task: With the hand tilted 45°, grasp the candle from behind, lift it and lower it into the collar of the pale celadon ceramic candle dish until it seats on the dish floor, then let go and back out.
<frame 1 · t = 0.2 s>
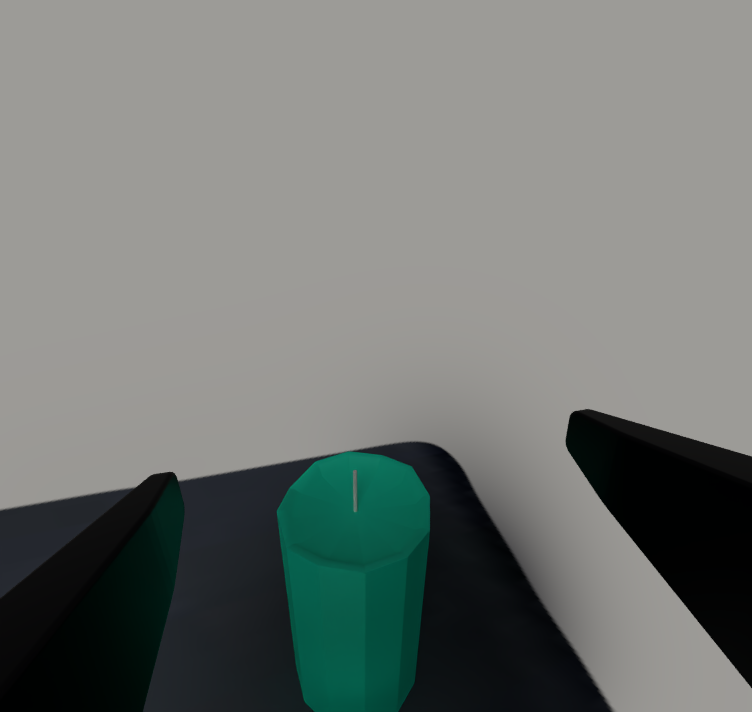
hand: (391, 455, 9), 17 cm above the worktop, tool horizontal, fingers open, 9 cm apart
candle: (357, 659, 21), on the worktop
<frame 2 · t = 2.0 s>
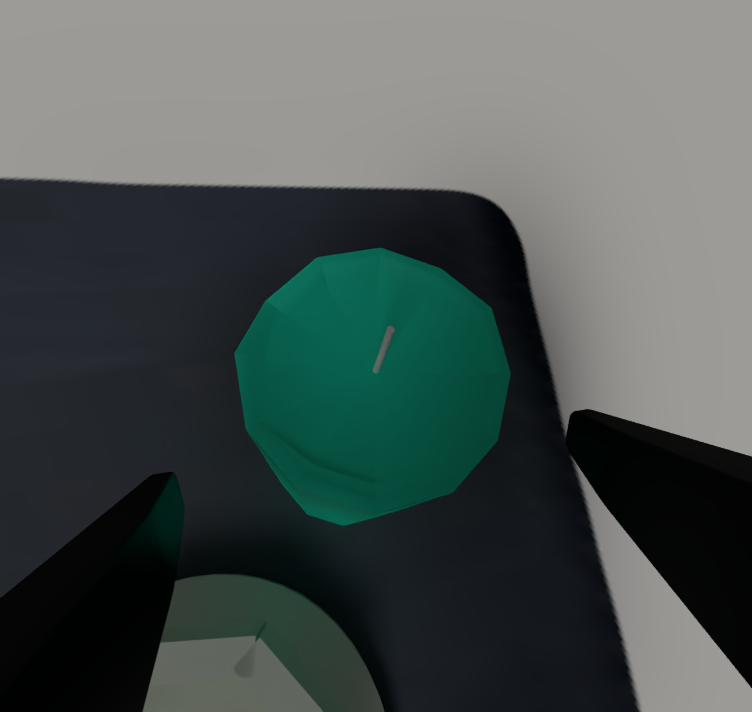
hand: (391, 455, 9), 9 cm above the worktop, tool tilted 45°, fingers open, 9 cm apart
candle: (346, 453, 18), on the worktop
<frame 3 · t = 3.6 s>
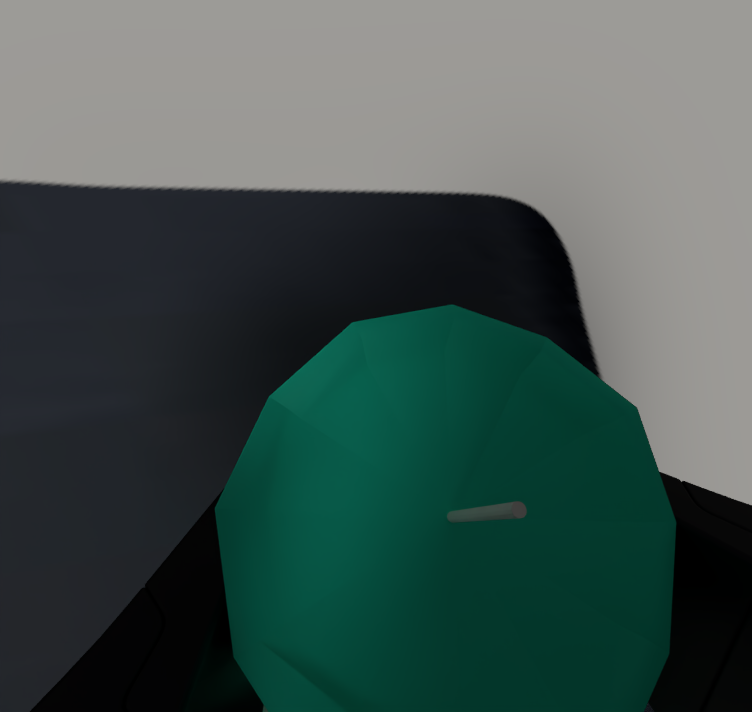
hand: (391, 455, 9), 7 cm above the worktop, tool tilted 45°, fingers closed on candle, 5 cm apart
candle: (367, 526, 15), on the worktop, touching gripper
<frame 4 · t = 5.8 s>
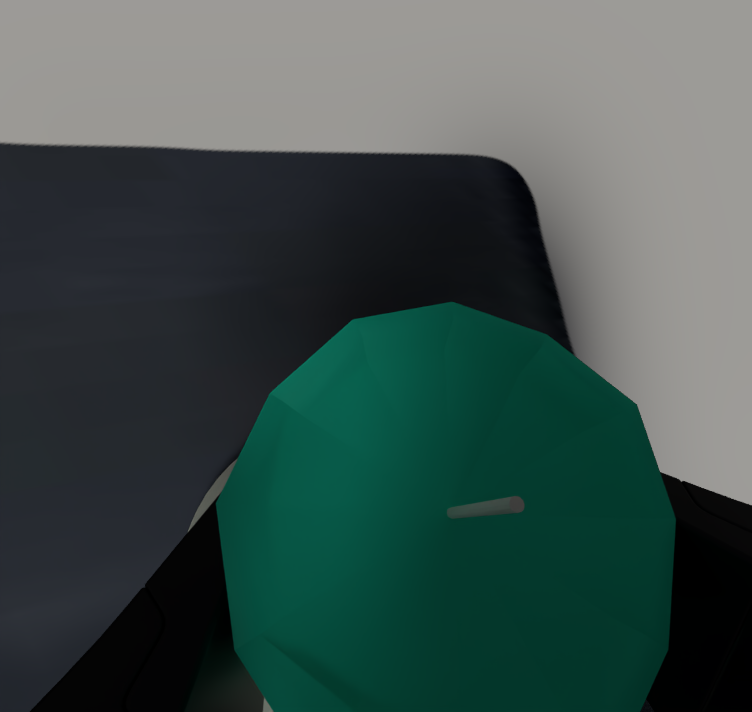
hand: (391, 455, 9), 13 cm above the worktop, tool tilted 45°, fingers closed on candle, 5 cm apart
candle: (369, 523, 15), point 6 cm above the worktop, touching gripper
candle dish: (327, 559, 20), on the worktop
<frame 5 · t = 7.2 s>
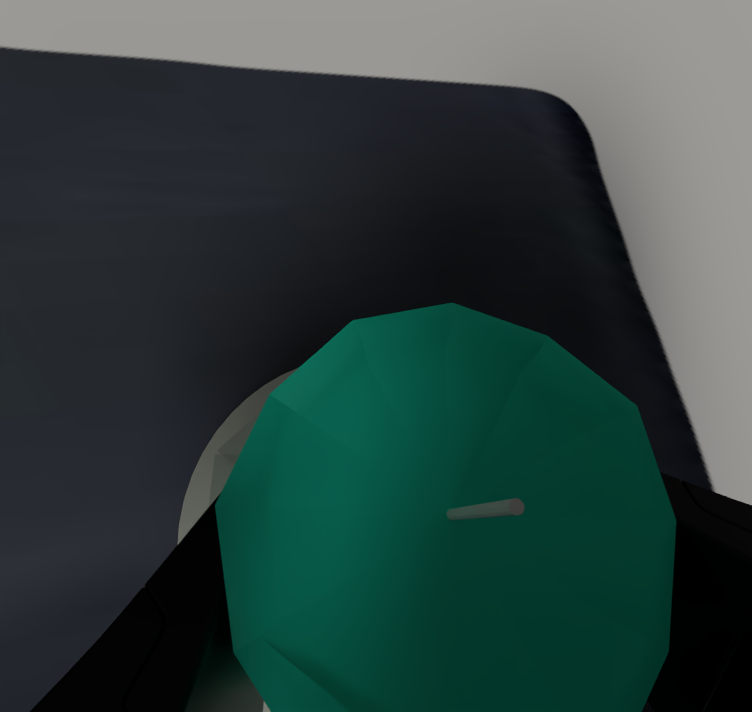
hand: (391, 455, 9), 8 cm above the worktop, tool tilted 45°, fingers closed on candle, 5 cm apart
candle: (369, 524, 15), point 1 cm above the worktop, touching gripper
candle dish: (360, 518, 16), on the worktop
when the fingers open (8 cm above the worktop, at t = 8.1 s): candle stays where it is, resting on candle dish.
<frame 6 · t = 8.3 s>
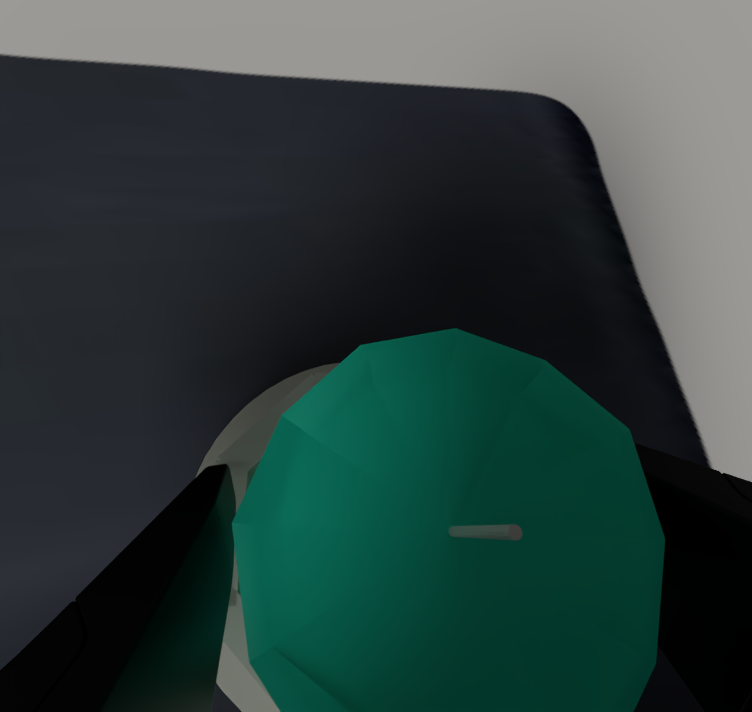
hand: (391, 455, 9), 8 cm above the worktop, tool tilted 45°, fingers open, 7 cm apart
candle: (369, 530, 15), point 1 cm above the worktop, touching candle dish
candle dish: (363, 525, 16), on the worktop
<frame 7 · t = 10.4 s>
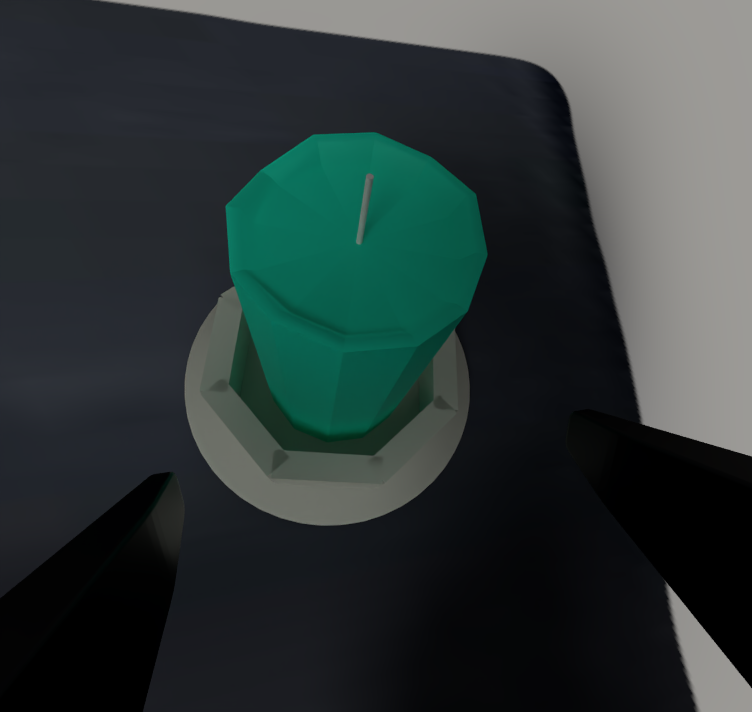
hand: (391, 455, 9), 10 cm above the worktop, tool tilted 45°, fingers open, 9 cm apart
candle: (336, 378, 19), point 1 cm above the worktop, touching candle dish
candle dish: (333, 380, 20), on the worktop
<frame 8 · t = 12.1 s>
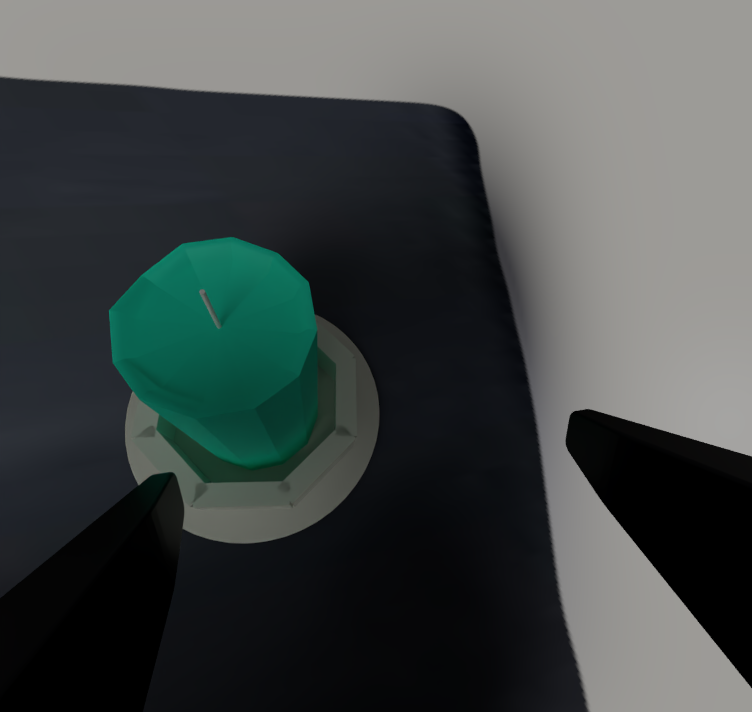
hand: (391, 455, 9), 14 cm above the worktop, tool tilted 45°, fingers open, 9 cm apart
candle: (261, 413, 22), point 1 cm above the worktop, touching candle dish
candle dish: (260, 414, 23), on the worktop
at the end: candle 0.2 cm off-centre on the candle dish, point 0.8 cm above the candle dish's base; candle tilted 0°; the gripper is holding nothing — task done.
